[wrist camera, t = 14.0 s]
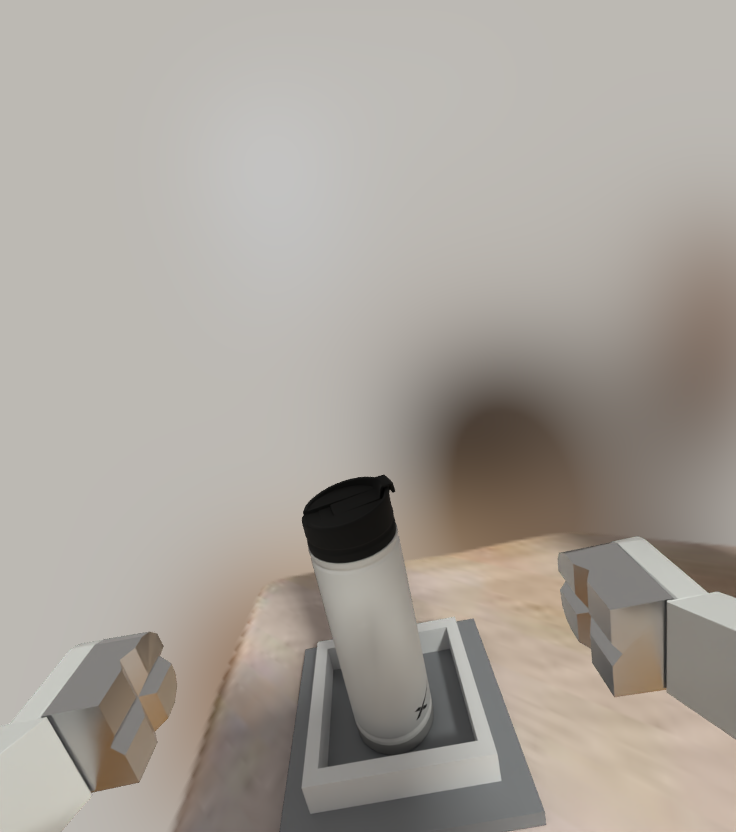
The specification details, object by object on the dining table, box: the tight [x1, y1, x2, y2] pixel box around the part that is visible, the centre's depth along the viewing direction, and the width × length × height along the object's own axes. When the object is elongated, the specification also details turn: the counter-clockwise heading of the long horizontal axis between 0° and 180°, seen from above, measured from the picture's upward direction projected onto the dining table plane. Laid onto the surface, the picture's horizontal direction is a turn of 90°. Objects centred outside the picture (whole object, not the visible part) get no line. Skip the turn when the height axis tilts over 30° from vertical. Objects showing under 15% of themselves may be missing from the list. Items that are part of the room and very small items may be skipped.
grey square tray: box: [280, 617, 546, 832], centre depth 33 cm, size 17×16×4 cm
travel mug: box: [302, 475, 434, 755], centre depth 30 cm, size 6×7×20 cm
